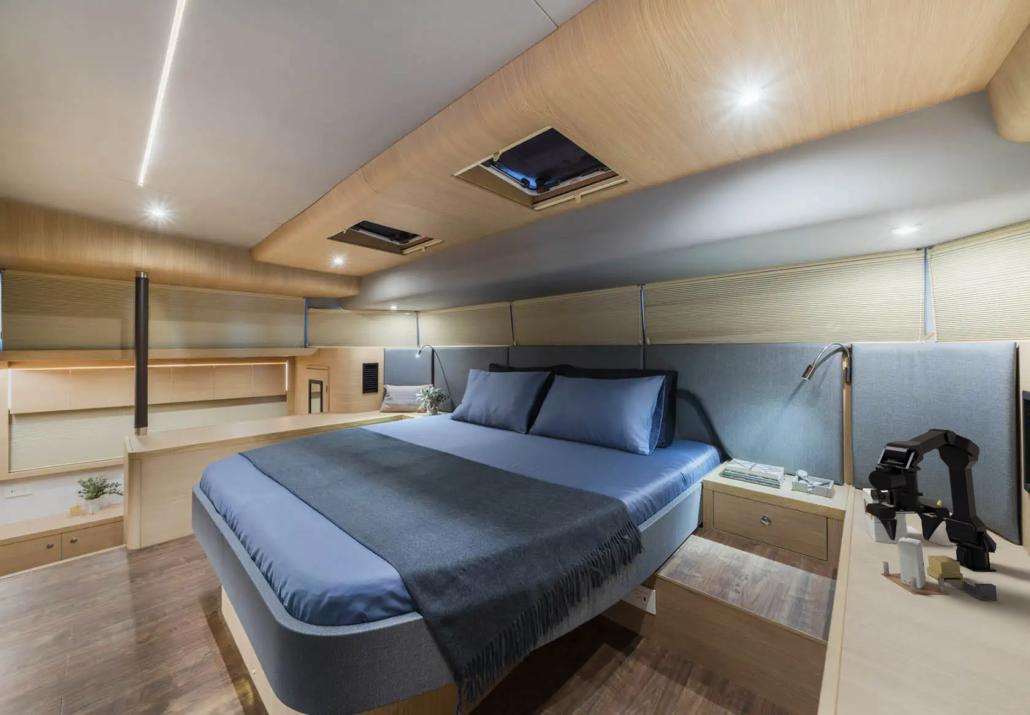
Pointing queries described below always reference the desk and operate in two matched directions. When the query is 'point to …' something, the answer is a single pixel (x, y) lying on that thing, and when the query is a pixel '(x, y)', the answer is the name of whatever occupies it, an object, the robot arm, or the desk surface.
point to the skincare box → (911, 561)
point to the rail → (975, 589)
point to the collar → (944, 567)
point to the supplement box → (875, 525)
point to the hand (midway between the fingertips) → (909, 539)
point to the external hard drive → (913, 531)
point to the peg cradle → (926, 589)
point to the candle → (941, 533)
